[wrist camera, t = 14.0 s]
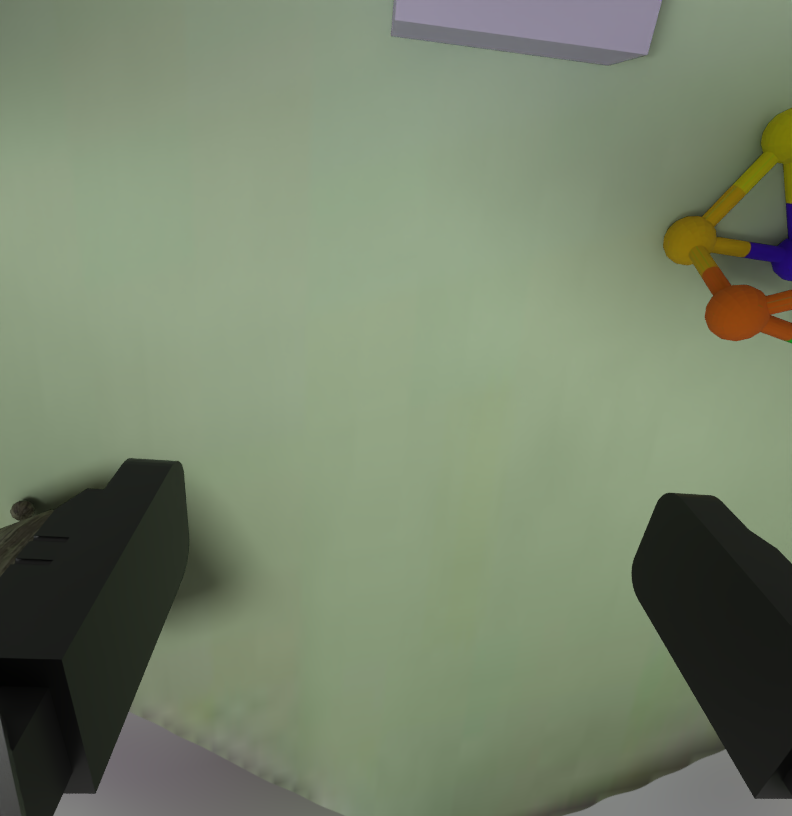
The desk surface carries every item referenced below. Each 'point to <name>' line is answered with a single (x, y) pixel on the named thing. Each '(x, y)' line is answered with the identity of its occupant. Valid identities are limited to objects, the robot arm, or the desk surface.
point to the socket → (534, 26)
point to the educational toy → (741, 249)
